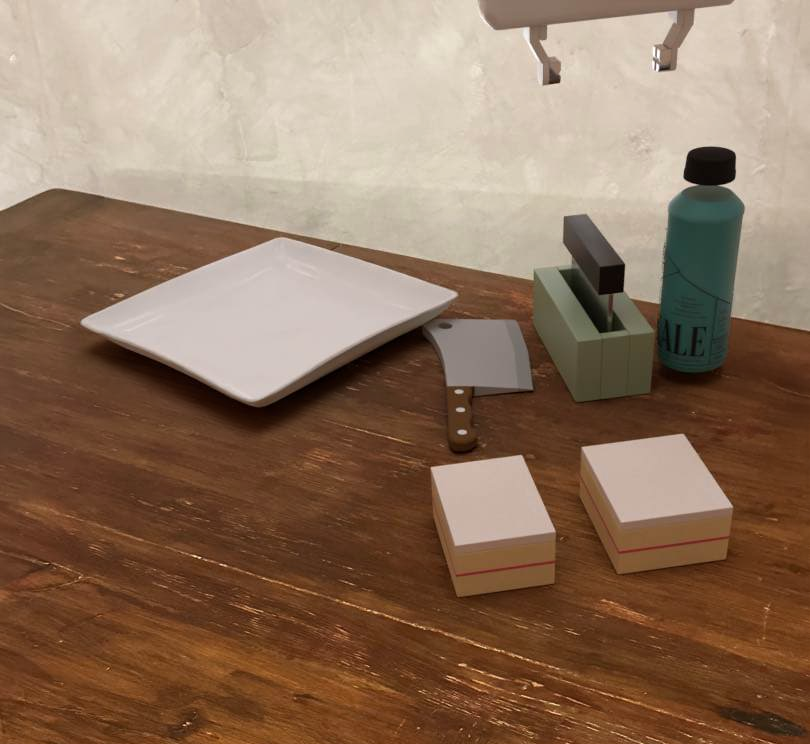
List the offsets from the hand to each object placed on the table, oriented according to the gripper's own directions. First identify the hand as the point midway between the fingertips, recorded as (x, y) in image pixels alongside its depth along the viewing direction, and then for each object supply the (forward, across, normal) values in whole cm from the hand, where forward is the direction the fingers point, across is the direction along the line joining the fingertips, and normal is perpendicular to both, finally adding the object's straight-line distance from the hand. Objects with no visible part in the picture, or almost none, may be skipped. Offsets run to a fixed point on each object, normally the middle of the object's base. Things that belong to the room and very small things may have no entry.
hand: (606, 76), depth 90 cm
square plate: (+25, -30, +13) cm, 41 cm away
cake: (+26, -4, -26) cm, 37 cm away
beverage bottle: (+26, +7, -4) cm, 27 cm away
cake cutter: (+25, -1, +1) cm, 25 cm away
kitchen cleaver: (+25, -12, -1) cm, 28 cm away
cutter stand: (+25, -1, +1) cm, 25 cm away
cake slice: (+25, -16, -26) cm, 40 cm away
